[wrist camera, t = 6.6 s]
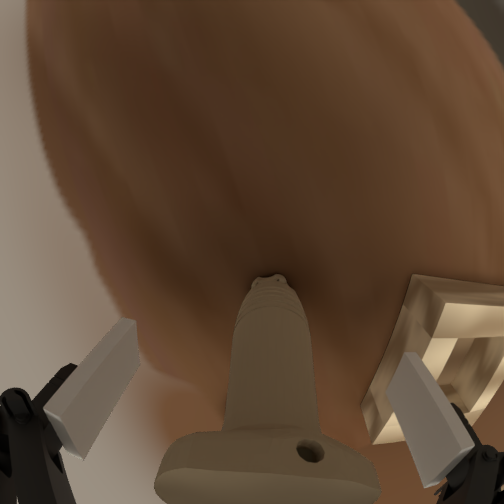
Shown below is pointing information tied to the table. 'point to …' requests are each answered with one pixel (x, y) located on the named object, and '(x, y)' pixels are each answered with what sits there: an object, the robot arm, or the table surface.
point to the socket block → (443, 348)
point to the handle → (268, 422)
